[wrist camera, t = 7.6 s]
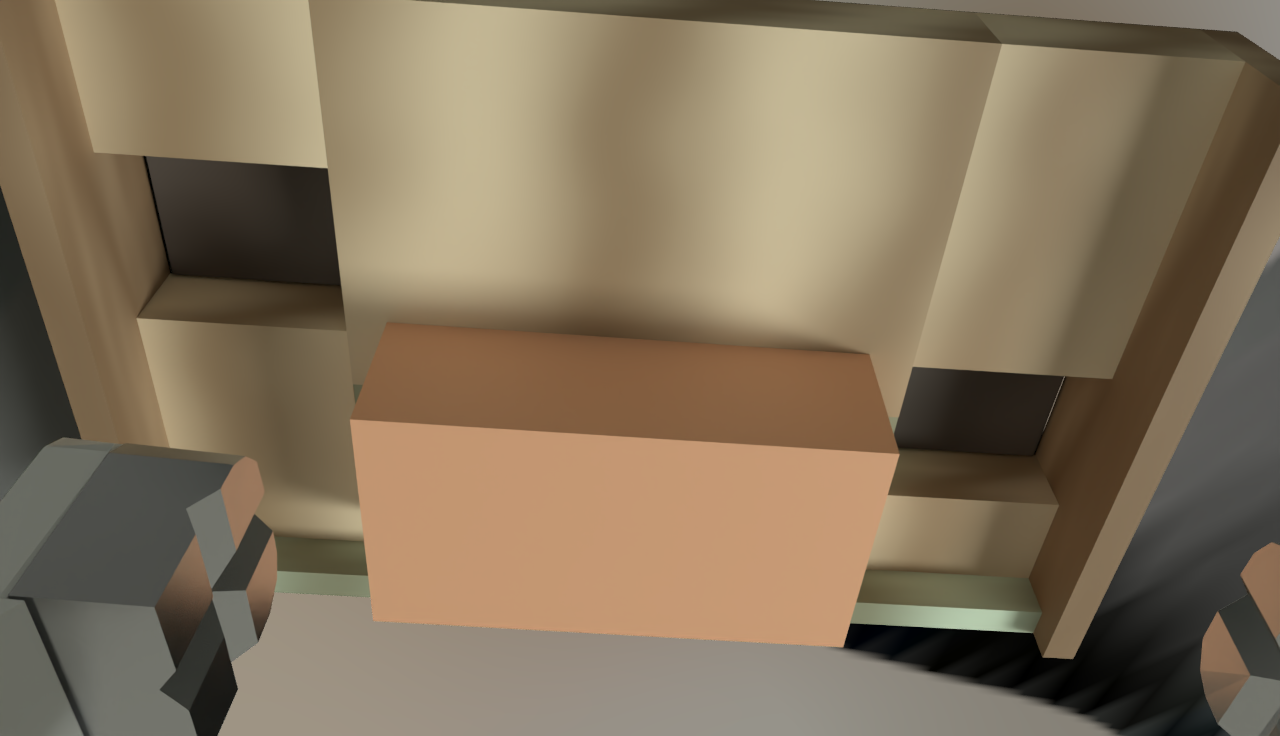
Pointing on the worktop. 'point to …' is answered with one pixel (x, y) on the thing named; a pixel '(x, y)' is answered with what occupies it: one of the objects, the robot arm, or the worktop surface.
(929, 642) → the worktop surface
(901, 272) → the trap board
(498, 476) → the block
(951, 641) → the worktop surface
